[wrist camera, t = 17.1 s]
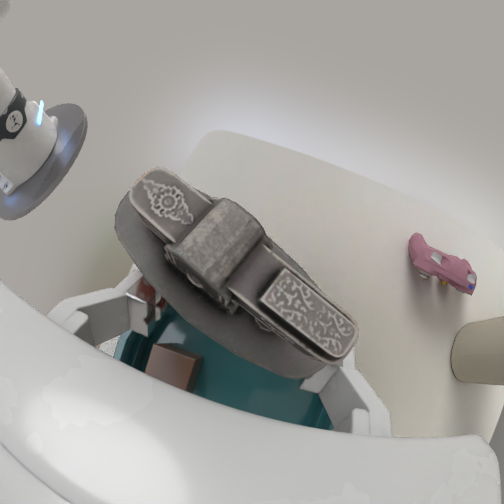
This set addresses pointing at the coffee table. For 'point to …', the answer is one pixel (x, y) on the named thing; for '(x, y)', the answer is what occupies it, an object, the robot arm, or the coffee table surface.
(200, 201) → the lighter
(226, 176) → the coffee table surface
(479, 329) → the travel mug
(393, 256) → the coffee table surface
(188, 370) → the walnut block
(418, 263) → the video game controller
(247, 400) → the bowl
